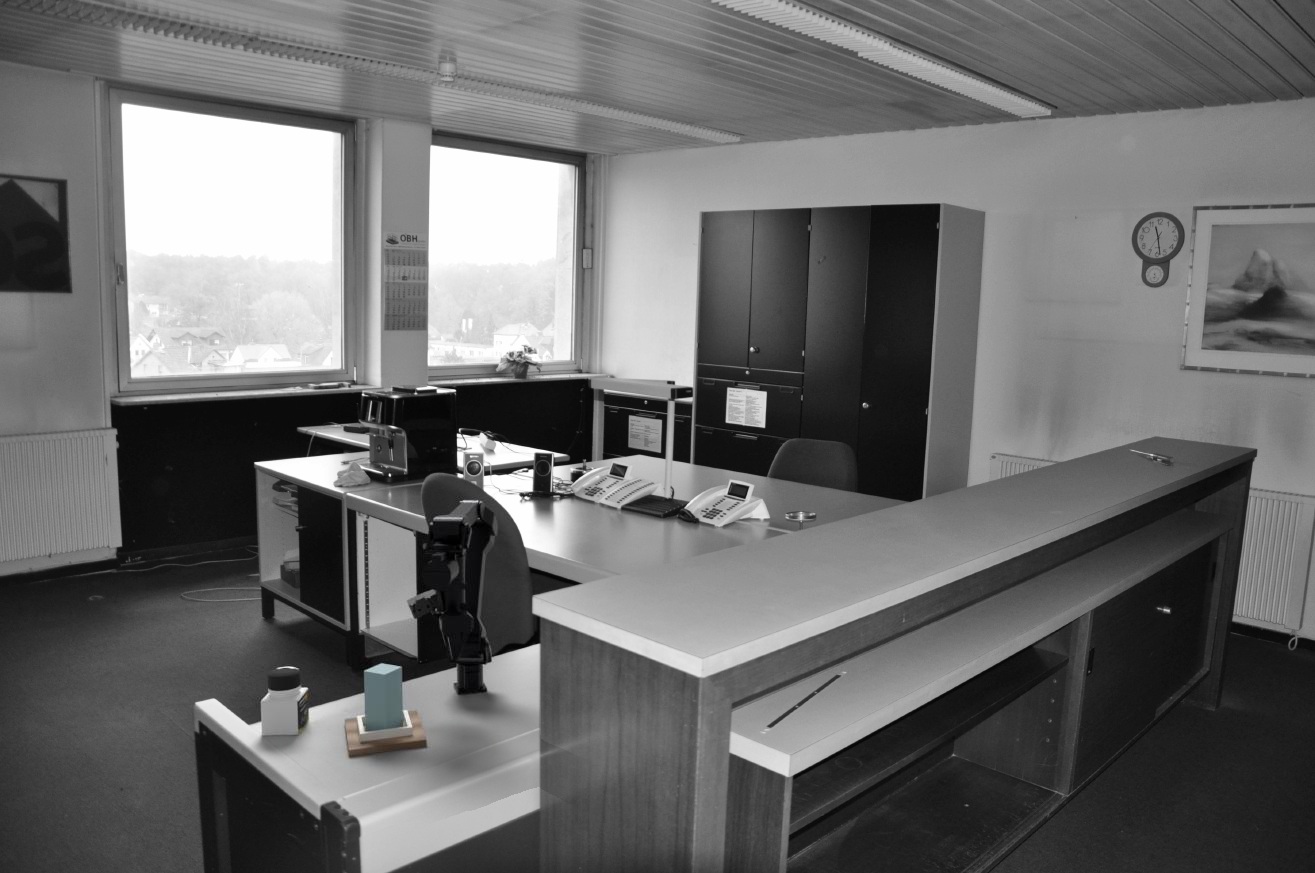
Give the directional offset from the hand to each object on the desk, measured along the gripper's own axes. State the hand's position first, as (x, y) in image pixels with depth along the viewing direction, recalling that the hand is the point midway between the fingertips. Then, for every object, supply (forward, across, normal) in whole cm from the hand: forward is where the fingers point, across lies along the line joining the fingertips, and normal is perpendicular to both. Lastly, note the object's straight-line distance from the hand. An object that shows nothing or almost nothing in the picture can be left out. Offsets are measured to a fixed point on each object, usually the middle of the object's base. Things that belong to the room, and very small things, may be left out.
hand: (451, 652), depth 195 cm
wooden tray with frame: (+13, +6, -14) cm, 20 cm away
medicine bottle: (+13, -4, -32) cm, 35 cm away
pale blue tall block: (+12, +6, -14) cm, 19 cm away
